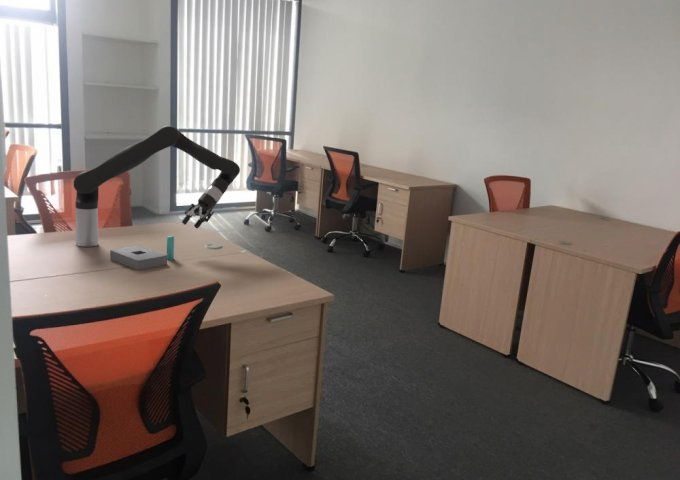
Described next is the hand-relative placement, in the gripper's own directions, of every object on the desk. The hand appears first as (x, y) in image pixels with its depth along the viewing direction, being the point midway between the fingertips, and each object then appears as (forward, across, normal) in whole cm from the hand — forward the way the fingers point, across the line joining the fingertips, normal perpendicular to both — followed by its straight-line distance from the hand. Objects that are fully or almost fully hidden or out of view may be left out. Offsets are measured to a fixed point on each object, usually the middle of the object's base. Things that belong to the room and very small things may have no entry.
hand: (189, 225), depth 261 cm
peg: (+17, 0, +3) cm, 17 cm away
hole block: (+26, -4, -6) cm, 27 cm away
